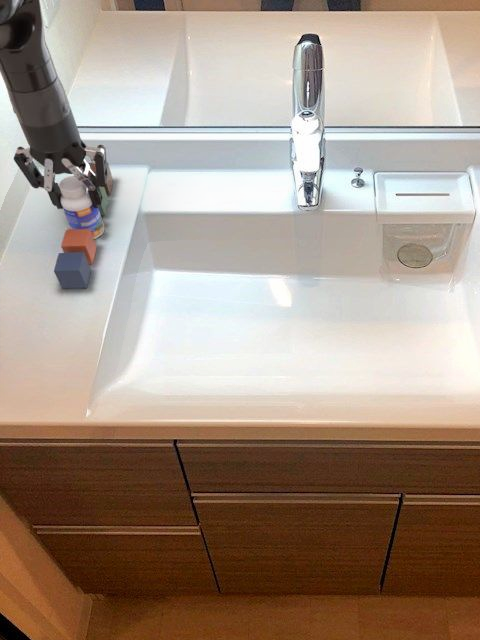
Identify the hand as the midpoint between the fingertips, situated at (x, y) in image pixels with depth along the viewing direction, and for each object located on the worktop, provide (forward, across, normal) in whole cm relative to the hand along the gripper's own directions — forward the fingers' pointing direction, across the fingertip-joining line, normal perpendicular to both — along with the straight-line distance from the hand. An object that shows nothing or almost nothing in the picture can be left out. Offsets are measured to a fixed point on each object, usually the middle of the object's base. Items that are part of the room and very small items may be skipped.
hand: (79, 205), depth 104 cm
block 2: (+5, 0, +12) cm, 13 cm away
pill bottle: (+6, 0, 0) cm, 6 cm away
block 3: (+5, 0, -11) cm, 13 cm away
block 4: (+5, 0, -6) cm, 8 cm away
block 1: (+5, 0, +6) cm, 8 cm away
